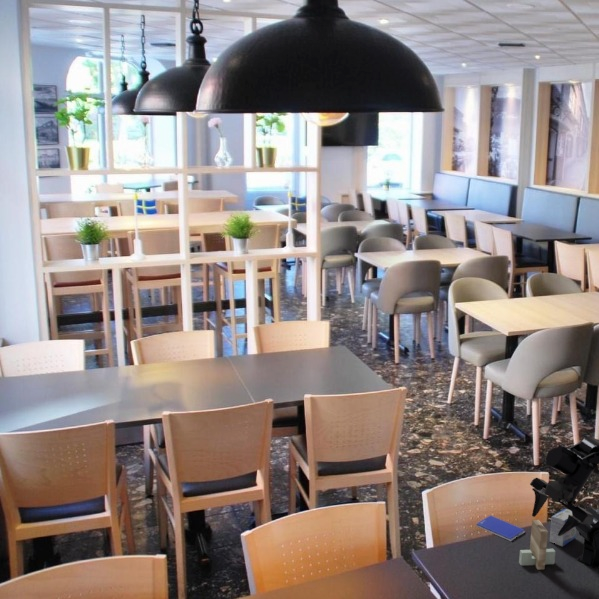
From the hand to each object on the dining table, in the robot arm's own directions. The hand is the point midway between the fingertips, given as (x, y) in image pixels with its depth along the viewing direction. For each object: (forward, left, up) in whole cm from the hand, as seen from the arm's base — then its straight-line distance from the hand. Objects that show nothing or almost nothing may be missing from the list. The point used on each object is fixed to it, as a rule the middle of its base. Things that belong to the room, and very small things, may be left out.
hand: (545, 526), depth 225 cm
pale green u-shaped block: (0, -2, -13) cm, 13 cm away
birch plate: (0, -2, -13) cm, 13 cm away
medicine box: (-18, -4, -13) cm, 23 cm away
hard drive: (-10, -20, -14) cm, 26 cm away
